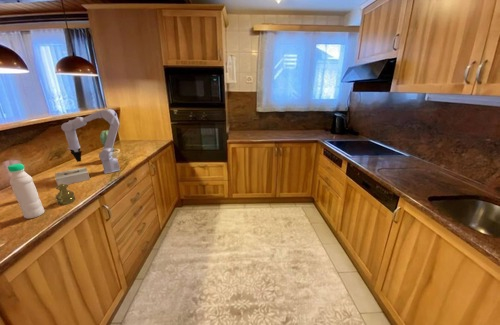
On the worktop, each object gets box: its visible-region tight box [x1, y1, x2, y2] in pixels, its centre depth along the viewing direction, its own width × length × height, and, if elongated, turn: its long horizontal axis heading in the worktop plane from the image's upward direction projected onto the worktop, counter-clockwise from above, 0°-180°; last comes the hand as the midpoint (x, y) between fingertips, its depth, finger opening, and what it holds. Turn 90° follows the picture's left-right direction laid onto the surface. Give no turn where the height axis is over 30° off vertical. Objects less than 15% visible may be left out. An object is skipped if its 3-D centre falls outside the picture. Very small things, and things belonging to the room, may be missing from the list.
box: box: [54, 166, 91, 186], centre depth 140 cm, size 16×14×5 cm
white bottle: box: [7, 163, 45, 220], centre depth 97 cm, size 7×7×25 cm
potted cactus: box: [98, 129, 121, 160], centre depth 175 cm, size 15×15×25 cm
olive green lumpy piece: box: [55, 184, 76, 206], centre depth 111 cm, size 7×7×10 cm
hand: (78, 160), depth 146 cm, fingers open, 7 cm apart
